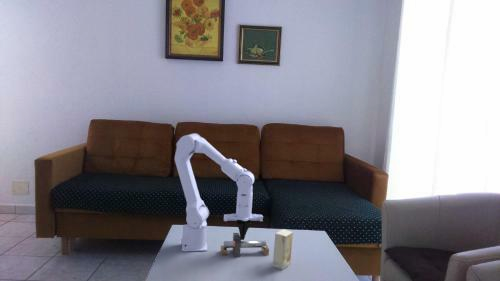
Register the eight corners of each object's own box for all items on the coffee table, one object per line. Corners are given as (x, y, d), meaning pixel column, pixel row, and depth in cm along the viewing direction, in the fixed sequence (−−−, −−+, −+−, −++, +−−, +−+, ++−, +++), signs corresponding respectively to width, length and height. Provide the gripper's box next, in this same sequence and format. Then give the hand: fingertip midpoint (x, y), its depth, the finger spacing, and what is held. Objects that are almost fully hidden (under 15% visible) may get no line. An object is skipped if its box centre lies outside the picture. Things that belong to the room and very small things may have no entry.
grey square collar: (234, 256, 129) (235, 239, 128) (232, 249, 135) (233, 232, 134) (239, 256, 129) (240, 239, 129) (237, 249, 136) (238, 232, 135)
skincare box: (283, 270, 121) (285, 236, 120) (272, 266, 124) (274, 233, 122) (290, 263, 127) (293, 231, 125) (280, 260, 129) (282, 228, 128)
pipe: (221, 255, 129) (222, 243, 129) (220, 251, 133) (221, 238, 133) (268, 255, 133) (269, 242, 132) (266, 250, 136) (267, 238, 136)
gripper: (226, 207, 125) (224, 243, 127) (265, 207, 128) (262, 243, 129) (224, 201, 132) (222, 235, 134) (261, 201, 135) (259, 235, 136)
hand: (242, 238), depth 132 cm, fingers closed
